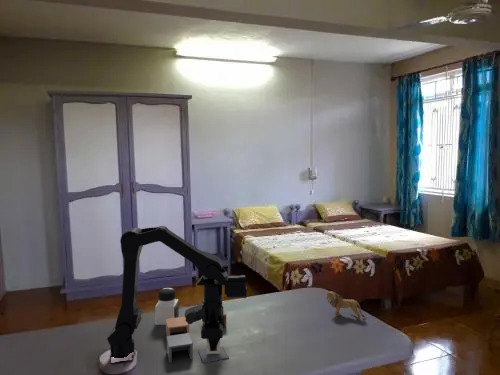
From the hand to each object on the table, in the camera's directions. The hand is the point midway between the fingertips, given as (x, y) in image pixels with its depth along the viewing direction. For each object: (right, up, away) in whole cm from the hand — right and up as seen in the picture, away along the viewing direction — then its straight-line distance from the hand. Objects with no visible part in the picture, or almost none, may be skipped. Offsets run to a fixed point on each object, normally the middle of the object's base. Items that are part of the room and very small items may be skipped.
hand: (213, 347), depth 122 cm
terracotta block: (-13, -1, +13) cm, 18 cm away
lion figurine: (+47, 0, +29) cm, 56 cm away
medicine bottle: (-19, 0, +24) cm, 31 cm away
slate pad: (0, -3, 0) cm, 2 cm away
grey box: (-10, -3, 0) cm, 11 cm away
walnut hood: (-1, -1, +21) cm, 21 cm away
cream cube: (0, -1, 0) cm, 1 cm away
